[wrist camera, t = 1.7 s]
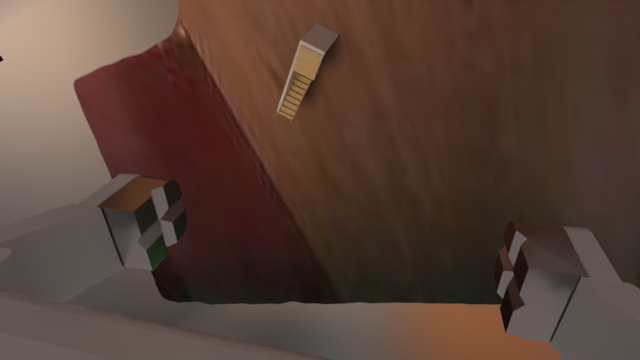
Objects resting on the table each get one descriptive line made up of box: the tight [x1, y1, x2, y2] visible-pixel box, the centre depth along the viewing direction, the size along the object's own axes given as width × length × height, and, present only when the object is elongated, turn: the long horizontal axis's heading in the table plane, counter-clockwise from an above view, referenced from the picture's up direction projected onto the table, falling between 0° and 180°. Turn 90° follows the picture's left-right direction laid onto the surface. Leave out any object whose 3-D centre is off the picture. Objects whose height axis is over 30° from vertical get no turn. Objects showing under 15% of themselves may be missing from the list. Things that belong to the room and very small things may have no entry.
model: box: [276, 23, 339, 123], centre depth 50 cm, size 3×11×8 cm, turn 160°
